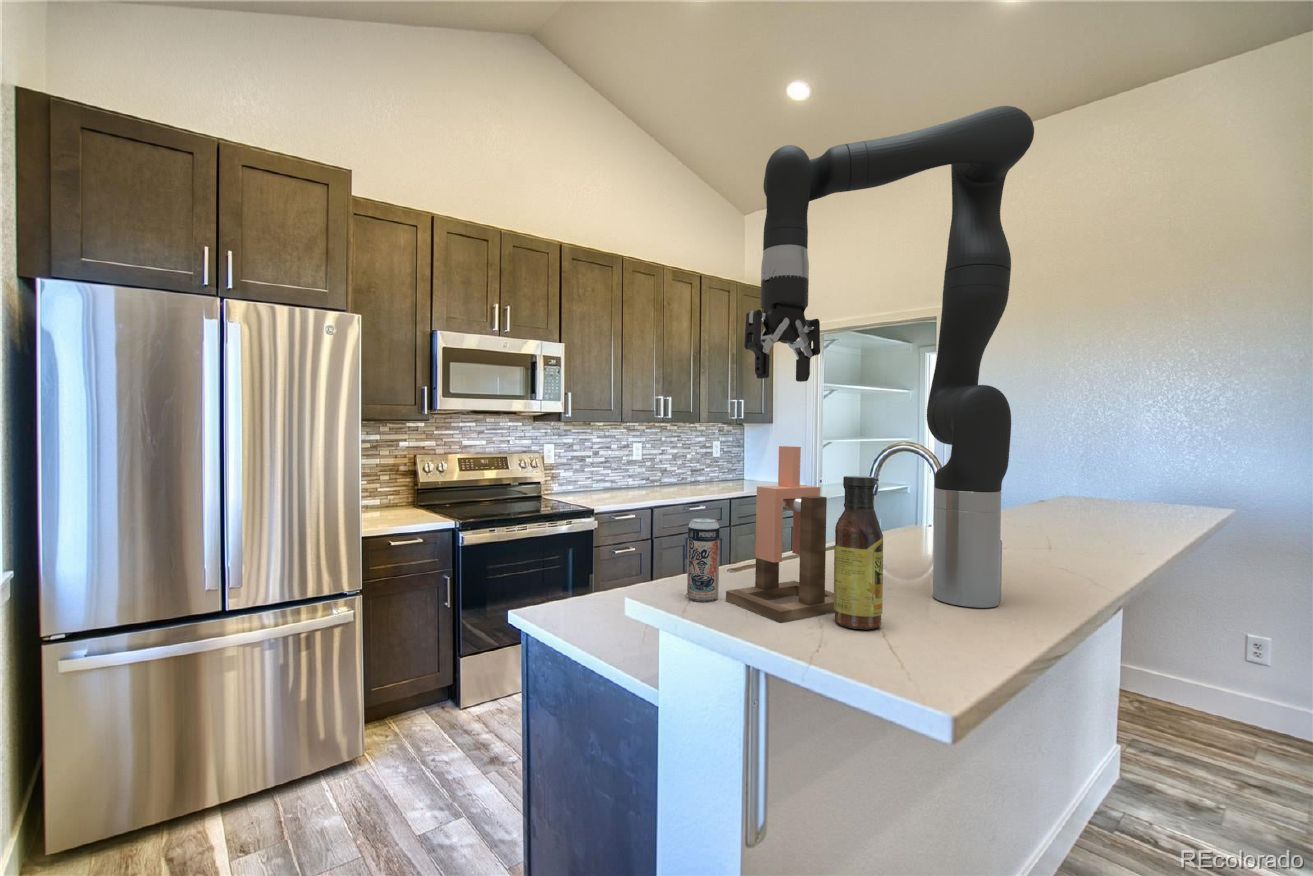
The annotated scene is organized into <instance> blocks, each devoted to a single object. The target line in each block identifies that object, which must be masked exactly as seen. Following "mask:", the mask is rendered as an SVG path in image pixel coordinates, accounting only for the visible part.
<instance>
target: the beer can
mask: <svg viewBox="0 0 1313 876" xmlns="http://www.w3.org/2000/svg"><path fill="white" fill-rule="evenodd" d="M689 521H690V522H689V524H688V527H687V575H686V578H687V579H686V581H687V583H686V584H687V585H686V596H687V597H689V598H690V599H691V600H692V601H696V602H711V601H714V600H715V599H716V598H718V597H719V582H720V581H719V579H720V577H719V576H720V571H719V570H720V525H719V522H718V520H717V519H715V518H708V517H706V518H703V517H700V518H698V517H697V518H692V519H690V520H689Z"/></svg>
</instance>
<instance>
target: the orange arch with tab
mask: <svg viewBox="0 0 1313 876" xmlns="http://www.w3.org/2000/svg"><path fill="white" fill-rule="evenodd" d="M801 448H802V447H801V446H790V445H788V446H786V445H785V446H784V445H783V446H781V445H779V446H778V466H777V467H778V472H777V473H778V474H777V475H778V477H777V485H767V486H766V485H762V486H756V505H755V506H756V509H755V510H756V514H755V519H756V520H755V547H754V548H755V549H754V550H755V555H754V557H755V559H756V558H759V559H763V560H766V561H770V562H774V563H775V562H779V563H782V562H783V561H782V560H783V532H784V530H783V526H784V525H783V523H784V522H783V521H784V518H783V517H784V510H783V499H793V498H800V499H801V497H803V496H821V487H820V486H813V485H804V484H801V454H802V453H801ZM792 512H793V513H792V546H791V547H792V548H791V549H792V554H794V555H798V556H800V519H801V512H795V511H792Z"/></svg>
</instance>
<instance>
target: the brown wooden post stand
mask: <svg viewBox="0 0 1313 876" xmlns="http://www.w3.org/2000/svg"><path fill="white" fill-rule="evenodd" d="M827 502H828V501H827V496H821V495H820V496H803V497H801V499H800V498H793V499H783V511H791V512H793V511H795V512H801V519H800V555H799V573H798V574H799V580H789V581H783V582H780V562H775V563H774V562H770V561H766V560H763V559H759V558H755V572H754V573H755V579H754V580H755V582H754V586H750V587H748V586H747V587H743V588H735V589H729V590H725V602H728V603H730V604H733V605H735V604H736V605H735V606H738V607H740V608H742V609H746V610H747V609H748V611H751V612H753V613H755V614H757V615H760V616H763V617H765V618H767V619H769V620H773V621H775V622H778V623H779V624H781V623H787V622H791V621H798V620H802V619H806V618H807V619H808V618H813V617H817V616H823V615H828V614H835V610H834V591H833V592H832V591H829V590H826V559H827V558H826V552H827V551H826V549H827V547H826V545H827V506H828V505H827ZM792 596H798V601H794V602H789V603H783V604H777V603H775V602H772V601H769V600H774V599H779V598H787V597H792Z"/></svg>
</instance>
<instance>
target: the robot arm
mask: <svg viewBox="0 0 1313 876" xmlns="http://www.w3.org/2000/svg"><path fill="white" fill-rule="evenodd" d="M1034 136H1035V126H1034V123H1033V120H1032V119H1031V117H1030V116H1029V114H1028V113H1027V112H1025V110H1023V109H1021V108H1018V107H1017V106H1011V105H1000V106H994V107H991V108H986V109H984V110H980V111H977V112H974V113H972V114H971V113H970V114H969V115H966V116H965V115H964V116H963V117H960V118H957V119H953V120H950V121H947V122H943V123H940V124H936V125H933V126H929V127H926V128H925V127H924V128H921V129H919V130H914V131H910V132H905V133H902V134H897V135H891V136H886V137H881V138H875V139H874V138H873V139H870V140H869V139H868V140H863V141H855V142H850V143H843V144H838V145H834V146H832V147H830V148H828V149H827V150H826V151H825V152H824V153H823V154H822V155H820V156H818V157H815V158H809V155H808V154H807V153H806V151H805V150H804V149H802V147H799V146H798V145H795V144H794V145H793V144H789V145H784V146H781V147H779V148H777V149H776V150H775V151H774V152H773V153H772V154H771V155H770V157H769V159H768V160H767V163H766V166H765V171H764V172H765V173H764V179H763V184H762V185H763V192H764V195H765V197H766V201H765V202H766V213H765V214H766V215H765V220H764V226H763V236H762V237H763V239H762V240H763V243H762V246H763V249H762V250H763V251H762V258H761V259H762V260H761V266H760V268H761V269H760V272H761V273H760V308H761V309H755V310H751V311H748V312H747V313H746V315H745V328H744V332H745V333H744V343H743V346H744V349H745V350H746V351H751V352H752V353H753V354H754V374H755V375H756V379H759V380H761V379H762V380H763V379H764V380H765V379H769V377H770V360H771V359H770V353H769V351H770V350H771V348H772V347H773V346H774V344H776V343H782V344H787V345H788V347H789V349H791V350H792V351H793V352H794V354H795V356H796V360H795V381H796V382H800V383H802V382H808V381H809V378H810V376H811V375H810V374H811V360H812V358H813V357H815V356H818V355H819V356H820V354H821V329H820V327H821V324H820V323H821V322H820V319H818V318H813V319H807V318H806V316H805V311H806V309H807V308H808V306H809V285H810V284H809V283H810V282H809V281H810V279H809V278H810V276H809V275H810V274H809V273H810V272H809V270H810V265H809V264H810V263H809V255H808V252H809V251H808V248H809V247H808V244H809V243H808V239H809V229H808V228H809V227H808V211H809V205H810V204H809V203H810V202H812V201H814V200H818V199H821V198H825V197H827V196H829V195H832V194H835V193H836V194H837V193H845V192H852V191H859V190H866V189H871V188H877V187H880V186H881V187H882V186H884V185H888V184H890V183H893V182H896V181H899V180H902V179H905V178H907V177H910V176H913V175H915V174H919V173H922V172H924V171H928V170H930V169H934V168H939V167H942V166H943V167H945V166H949V165H951V166H950V169H951V170H950V171H951V204H952V205H951V222H950V227H949V235H948V241H947V251H946V252H947V253H946V262H945V269H944V274H943V275H944V276H943V278H944V279H943V287H942V300H941V301H942V305H941V316H940V326H939V334H938V335H939V336H938V344H937V346H938V347H937V354H936V355H937V356H936V362H935V365H934V366H935V367H934V371H933V377H932V381H931V387H930V390H929V395H928V400H927V406H926V423H927V426H928V430H929V432H930V433H931V435H932V436H933V438H935V439H936V441H938V442H940V443H942V444H945V445H951V450H950V451H951V452H950V457H949V458H948V460H947V463H946V464H944V465H943V466H942V467H940V468H939V469H937V470H936V472H935V474H934V475H935V476H934V494H933V495H934V496H933V499H934V500H933V505H934V506H933V507H934V509H933V549H932V550H933V554H932V557H933V559H932V567H933V568H932V597H933V598H934V599H936V600H937V601H939V602H942V603H946V604H950V605H953V606H954V605H955V606H960V607H967V608H981V609H983V608H994V607H998V606H999V604H1000V601H1002V577H1003V576H1002V570H1003V569H1002V568H1003V566H1002V565H1003V564H1002V563H1003V541H1002V539H1001V533H1002V532H1001V530H1002V529H1001V528H1002V527H1001V526H1002V525H1001V524H1002V486H1003V485H1002V484H1003V480H1004V478H1005V476H1006V474H1007V471H1008V469H1009V461H1010V446H1011V437H1012V436H1011V435H1012V413H1011V406H1010V403H1009V402H1008V399H1007V397H1006V396H1005V394H1004V393H1003V392H1002V391H1001V390H1000V389H998V388H996V387H995V386H991V385H987V384H979V378H980V368H981V363H982V360H983V359H982V358H983V355H984V353H985V351H986V348H987V346H988V344H989V342H990V340H991V339H992V337H993V335H994V332H995V331H996V329H997V327H998V325H999V323H1000V321H1001V319H1002V317H1003V315H1004V312H1005V311H1006V308H1007V303H1008V301H1009V300H1008V299H1009V294H1010V284H1011V272H1012V271H1011V270H1012V256H1011V251H1010V250H1011V249H1010V247H1009V243H1008V241H1007V237H1006V234H1005V231H1004V229H1003V225H1002V220H1001V207H1002V199H1003V191H1004V186H1005V181H1006V178H1007V175H1008V172H1009V171H1010V170H1011V169H1012V168H1013V167H1014V166H1015V165H1016V164H1017V163H1018V162H1019V161H1020V160H1021V159H1022V158H1023V157H1024V156H1025V155H1026V153H1027V152H1028V150H1029V148H1030V147H1031V145H1032V142H1033V140H1034ZM762 326H763V327H764V328H763V330H762Z"/></svg>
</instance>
